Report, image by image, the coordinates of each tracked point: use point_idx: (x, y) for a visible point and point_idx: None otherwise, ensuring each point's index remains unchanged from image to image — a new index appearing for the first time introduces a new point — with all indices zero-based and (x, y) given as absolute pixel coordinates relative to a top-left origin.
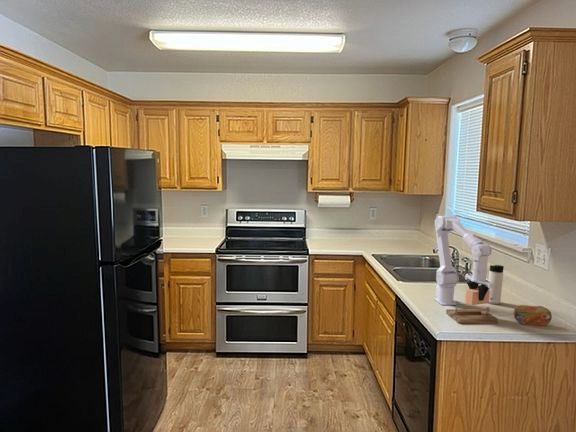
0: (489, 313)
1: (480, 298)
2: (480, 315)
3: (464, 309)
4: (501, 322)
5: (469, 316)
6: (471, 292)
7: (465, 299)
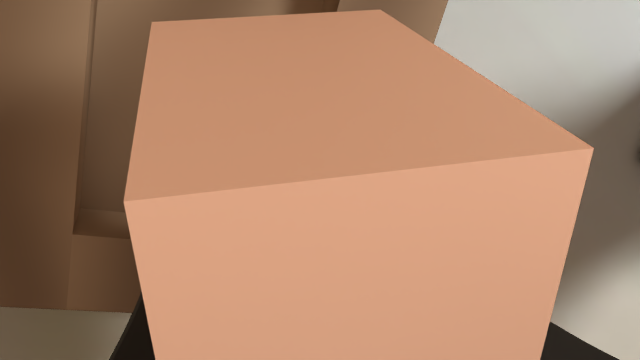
0: None
1: (129, 333)
2: None
3: None
4: (6, 320)
5: None
6: (228, 170)
7: (400, 26)
